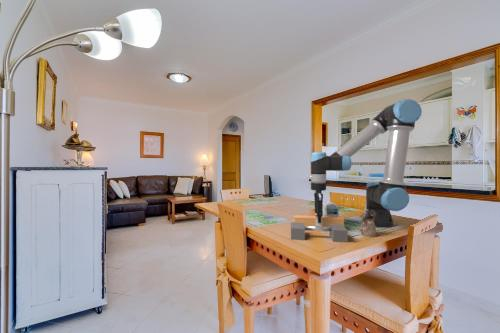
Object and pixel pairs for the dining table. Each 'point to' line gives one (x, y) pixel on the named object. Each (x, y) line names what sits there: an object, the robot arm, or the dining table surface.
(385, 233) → the dining table surface
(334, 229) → the grey dumbbell
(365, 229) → the figurine
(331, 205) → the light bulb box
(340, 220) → the light wood long bar
